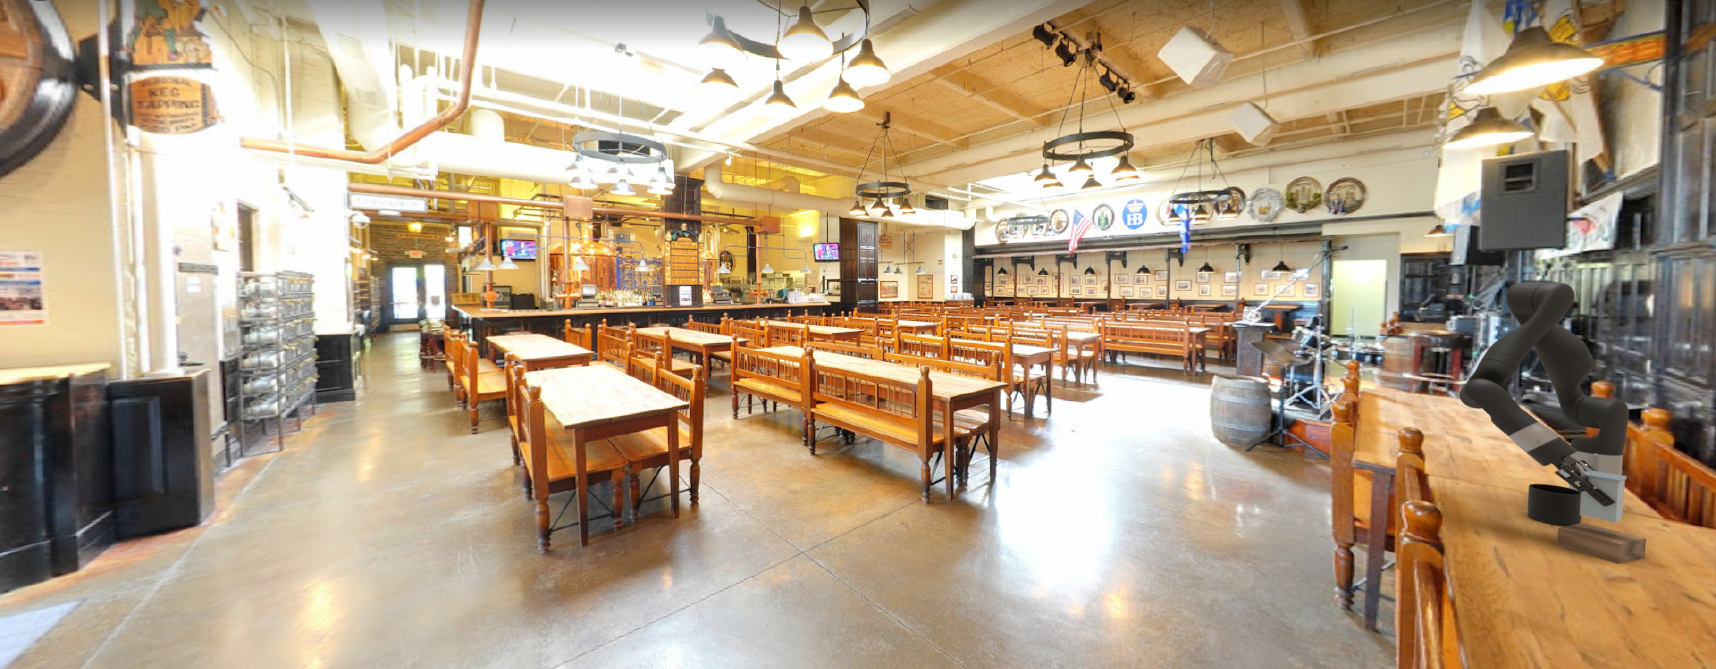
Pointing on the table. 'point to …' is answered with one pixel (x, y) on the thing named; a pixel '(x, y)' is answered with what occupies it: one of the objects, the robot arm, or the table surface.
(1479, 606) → the table surface
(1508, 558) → the table surface
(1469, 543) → the table surface
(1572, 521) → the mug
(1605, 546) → the walnut block
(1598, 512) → the grey lidded pillar
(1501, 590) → the table surface
